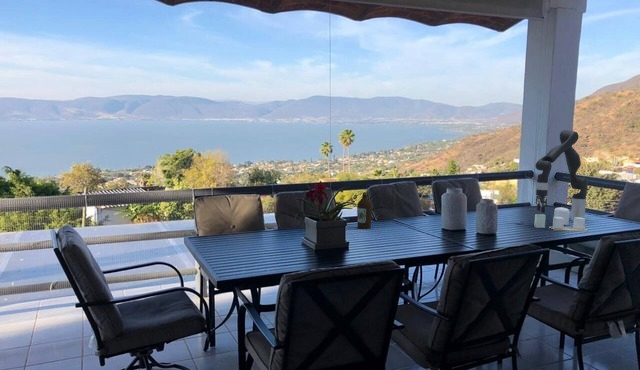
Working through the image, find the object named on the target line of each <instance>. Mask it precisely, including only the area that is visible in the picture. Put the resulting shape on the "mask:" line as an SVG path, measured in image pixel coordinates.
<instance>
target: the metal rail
mask: <svg viewBox="0 0 640 370" xmlns="http://www.w3.org/2000/svg"><path fill="white" fill-rule="evenodd" d="M550 227H551V228H553V229H576V228H574V227H573V226H564V228H554V227H553V226H550ZM585 229H587V228H586V227H585Z"/></svg>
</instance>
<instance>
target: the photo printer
mask: <svg viewBox="0 0 640 370" xmlns="http://www.w3.org/2000/svg"><path fill="white" fill-rule="evenodd" d="M553 217H562V218H564V226H569V224H570V222H569V221H570V209H568V208H566V207H562V206H561V207H556V208H555V209H554V213H553Z"/></svg>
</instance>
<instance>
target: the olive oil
mask: <svg viewBox="0 0 640 370" xmlns="http://www.w3.org/2000/svg"><path fill="white" fill-rule="evenodd" d="M356 205H357V206H356V212H357V213H356V218H357V229H359V230H370V229H372V216H373V204H372V202H371V201H370V199H368V192H366V191H364V192H362V198H361V199H360V200H359V201H358V202H357V204H356Z"/></svg>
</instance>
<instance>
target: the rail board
mask: <svg viewBox="0 0 640 370" xmlns="http://www.w3.org/2000/svg"><path fill="white" fill-rule="evenodd" d="M551 227H552V226H549V229H550V228H551ZM552 229H553V228H551V229H550V230H552ZM554 230H555V232H583V231H586V232H589V229H587V228H586V229H553V230H552V231H554Z"/></svg>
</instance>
